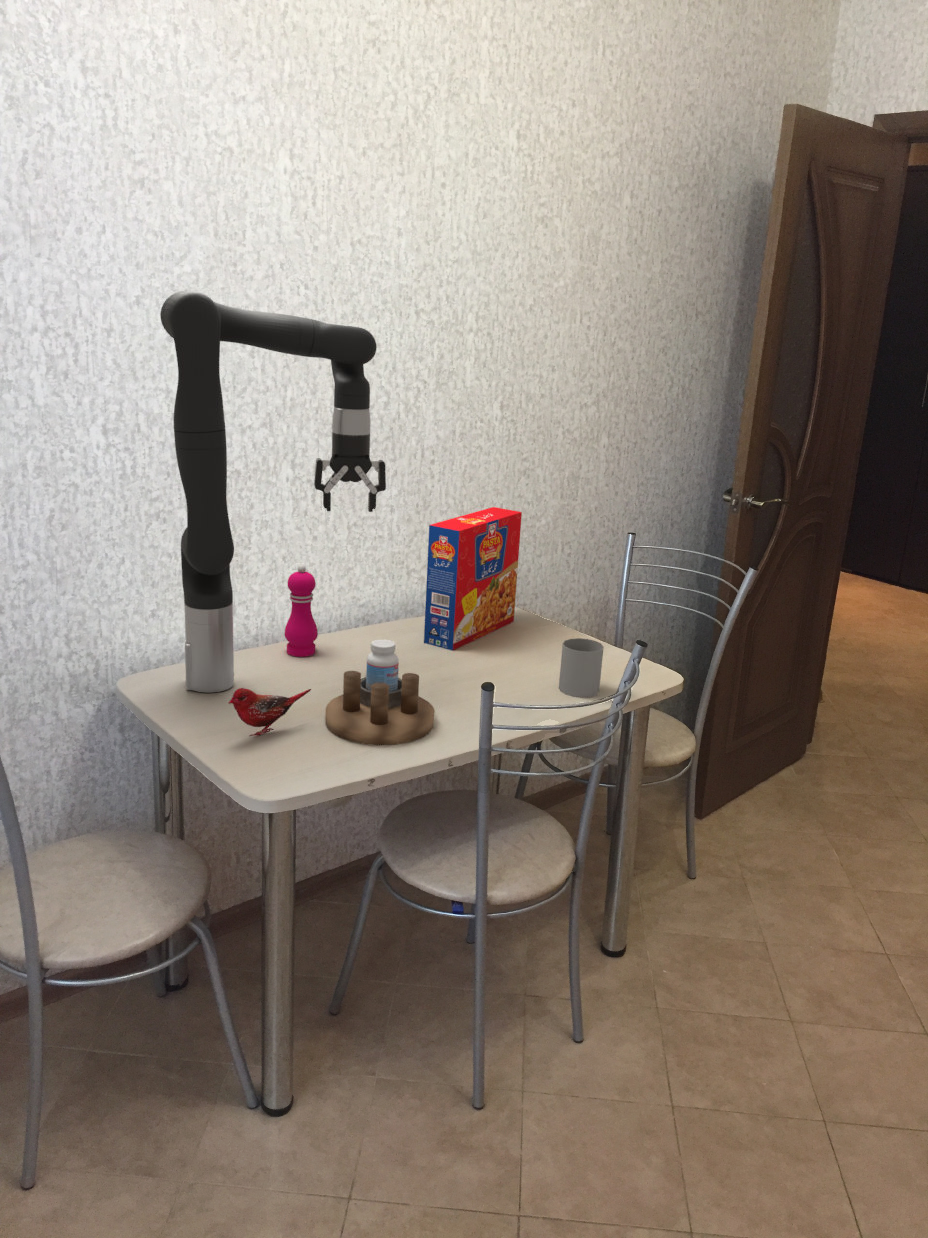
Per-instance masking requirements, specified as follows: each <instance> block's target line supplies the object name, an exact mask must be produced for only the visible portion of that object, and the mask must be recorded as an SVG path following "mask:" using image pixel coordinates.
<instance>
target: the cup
mask: <svg viewBox="0 0 928 1238" xmlns="http://www.w3.org/2000/svg"><path fill="white" fill-rule="evenodd" d="M603 656H604V646H603V644H602V643H601V642H599V641H597V640H593V639H589V638H579V637H577V638H576V637H575V638H568V639H565V640H564V641H563V642H562V648H561V658H560V669H559V679H558V680H559V682H558V690H559V692H560V693H561V694H564V695H566V696H569V697H573V698H581V699H584V698H585V699H586V698H593V697H596V696H598V695H599V692H600V685H601V676H602V667H603Z"/></svg>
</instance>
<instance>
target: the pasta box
mask: <svg viewBox="0 0 928 1238" xmlns="http://www.w3.org/2000/svg"><path fill="white" fill-rule="evenodd" d="M522 516H523V512H522V511H519V510H512V509H508V508H501V507H495V506H492V507H489V508H485V509H481V510H477V511H474V512H470V513H467V514H463V515H460V516H457V517H453V518H450V519H445V520H442V521H439V522H435V523H431V524H429V526H428V542H427V543H428V547H427V563H426V565H427V568H426V569H427V570H426V584H425V585H426V590H425V608H424V609H425V611H424V612H425V613H424V630H423V635H424V636H423V643H424V644H427V645H430V646H433V647H434V646H435V647H437V648H442V649H445V650H448V651H453V652H454V651H455V650H458V649H460V648H461V647H464V646H465V645H468V644H470V643H472V642H474V641H476V640H479V639H481V638H483V637H485V636H487V635H489V634H491V633H493V632H495V631H497V630H500V629H502V628H503V627H506V626H508V625H511V624H512V623H514V622H515V621H514V620H515V609H516V597H517V581H518V571H519V570H518V569H519V568H518V567H519V554H520V543H521V542H520V541H521V529H522V528H521V527H522Z"/></svg>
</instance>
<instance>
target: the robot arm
mask: <svg viewBox="0 0 928 1238" xmlns="http://www.w3.org/2000/svg"><path fill="white" fill-rule="evenodd" d="M159 316H160V321H161V324H162V327H163V329H164V330H165V332H166V333H167V334H168V335H169V337H171V338H172V339H173V342H174V348H175V355H176V361H177V362H176V363H177V373H178V377H177V387H176V393H175V400H174V401H175V402H174V408H173V437H174V446H175V447H174V448H175V455H176V461H177V467H178V472H179V477H180V480H181V484H182V488H183V492H184V495H185V501H186V518H187V520H186V521H187V522H186V523H187V524H186V527H185V529H184V530H183V532H182V536H181V539H180V557H181V558H180V559H181V562H180V563H181V579H182V581H181V582H182V590H183V603H184V632H185V633H184V634H185V642H184V660H185V663H184V664H185V665H184V667H185V690H186V691H194V692H198V693H207V694H208V693H219V692H223V691H227V690H229V689H231V688H233V687H234V684H235V661H234V660H235V658H234V657H235V655H234V649H235V648H234V605H233V604H234V599H233V598H234V595H233V594H234V592H233V585H232V579H231V566H230V565H231V563H232V561H233V558H234V554H235V545H234V539H233V536H232V535H233V534H232V530H231V524H230V519H229V517H230V516H229V511H228V502H227V490H228V489H227V485H228V457H227V456H228V455H227V453H228V452H227V450H228V449H227V434H226V432H227V431H226V422H225V421H226V420H225V411H224V401H223V399H224V398H223V392H222V385H221V376H220V357H221V356H220V351H221V342H227V343H235V344H241V345H246V346H252V347H255V348H260V349H265V350H268V351H272V352H278V353H282V354H285V355H286V354H288V355H292V356H300V357H305V358H318V359H321V358H322V359H325V360H326V359H327V360H329V361H330V364H331V365H330V366H331V372H332V376H333V382H334V389H333V392H334V393H333V413H332V419H331V420H332V423H331V436H332V437H331V457H330V459H329V460H327V459H322V458H316V459H315V467H314V469H315V471H314V483H313V487H314V488H315V489H316V491H321V492H322V497H323V498H322V505H323V509H325V511H326V512H331V506H332V505H331V504H332V501H331V500H332V493H331V491H332V489H334V487H335V486H337V484H338V482H340V481H341V482H343V483H349V482H353V483H359V482H361V481H362V482H363V483H364V484H365V486H366V487H367V489H369V492H368V497H367V498H368V499H367V501H368V503H367V510H368V512H370V513H373V512H374V511H373V510H376V507H377V494H378V493H380V492H385V491H386V489H387V484H386V483H387V482H386V481H387V479H386V478H387V477H386V475H387V474H386V463H385V461H384V460H383V459H379V460H375V461H374V460H371V458H370V457H371V455H370V454H371V452H370V450H371V449H370V448H371V414H370V413H371V412H370V411H371V410H370V404H371V403H370V402H371V387H370V382H369V381H368V379H367V378H366V376H365V369H364V367H365V366H364V365H365V364H368V363H370V361H372V360H373V358H374V357H375V355H376V353H377V347H378V345H377V342H376V339H375V337H374V335H373V334H372V333H371V332H370V331H368V330H367V329H365V328H362V327H359V326H353V325H343V324H342V325H341V324H333V323H326V322H323V321H321V320H317V319H313V318H308V317H302V316H297V315H289V314H284V313H275V312H268V311H267V312H265V311H257V310H249V309H242V308H238V307H234V306H233V307H232V306H229V305H225V304H223V303H222V304H221V303H219V302H215V301H214V300H213V299H212V298H211V297H210V296H208V295H206V294H204V293H202V292H199V291H192V290H181V291H177V292H174V293H172V294H171V295H169V296H168V297H167V298H166V299H165V300H164V301H163V304H162V306H161V309H160V315H159ZM327 467H330V469H331V470H332V472H333V473H332V475H331V476H330V477H329V479H328V480H327V481H326V483H325V484H324V483H322V478H323V472H324V471H326V470H327ZM372 468H374V471H376V473H377V476H378V477H377V479H378V480H377V481H378V484H376V485H375V484H373V482H372V481H371V480H370V478H369V476H368V475H367V473H369V471H370V470H371V469H372Z"/></svg>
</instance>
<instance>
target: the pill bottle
mask: <svg viewBox="0 0 928 1238" xmlns="http://www.w3.org/2000/svg"><path fill="white" fill-rule="evenodd" d="M370 650H371V652H370V653H369V654H368V655H367V657H366V671H365V675H366V676H365V677H366V689H367V690H369V691H371V685H372V684H374V683H386V684H388V685H389V692H393V691H396V690H398V678H399V664H400V662H399V660H400V659H399V656H398V655H397V654H396V653H395V652H396V642H395V641H393V640H390V639H383V638H382V639H375V640H372V641H371V644H370Z"/></svg>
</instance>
